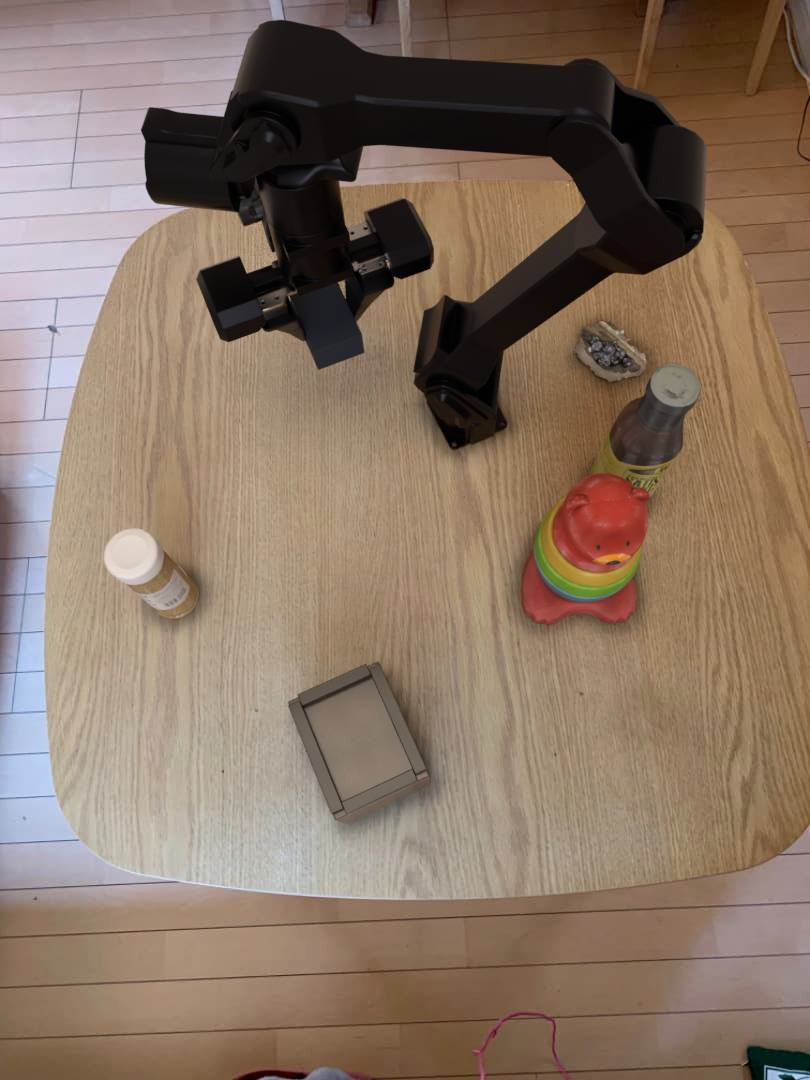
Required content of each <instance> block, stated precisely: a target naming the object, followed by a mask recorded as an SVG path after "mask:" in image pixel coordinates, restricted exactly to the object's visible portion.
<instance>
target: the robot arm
mask: <svg viewBox="0 0 810 1080" xmlns="http://www.w3.org/2000/svg"><path fill="white" fill-rule="evenodd" d="M243 51H244V52H243V54H242V58H241V62H240V64H239V69H238V72H237V76H236V79H235V81H234V85H233V89H232V90H231V91H230V93H229V96H228V101H227V103H226V107H225V112H224V113H223V116H221V115H211V114H201V113H191V112H181V111H180V112H179V111H175V110H173V109H168V108H163V107H154V106H153V107H152V106H149V107H148V108H147V110H146V113H145V116H144V120H143V122H142V124H141V128H140V132H141V135H142V137H143V139H144V153H143V154H144V155H143V156H144V157H143V159H144V173H145V179H146V180H145V190H146V192H147V195H148V196H149V198H150V201H152V202H153V203H154V204H157V205H164V206H172V207H173V206H174V207H181V208H192V209H200V210H210V211H219V212H230V213H236V214H237V216H238V218H239V220H240V223H241V224H242V226H243V227H248V226H251V225H254V224H257V223H260V222H261V224H262V227H263V231H264V234H265V238H266V242H267V244H268V247H269V249H270V251H271V253H275V255H276V259H275V260H273V261H271V263H270V264H269V265H267V266H263V267H260V268H259V269H255V270H251V271H250V272H247V270H246V268H245V265H244V263H243V261H242V258H241V256H240V255H237V256H233V257H231V258H228V259H226V260H223V261H220V262H217V263H214V264H211V265H209V266H205V267H203V268H200V269H199V271H198V273H197V275H196V278H195V280H196V283H197V285H198V287H199V291H200V293H201V295H202V298H203V300H204V304H205V306H206V308H207V311H208V314H209V315H210V318H211V322H212V323H213V326H214V328H215V331H216V333H217V336H218V337H219V340H220V341H224V342H226V343H232V342H234V341H237V340H240V339H243V338H245V337H248V336H251V335H254V334H257V333H259V332H260V331H261V330H262V331H264V332H266V333H271V332H274V331H278V332H281V333H285V334H288V335H290V336H292V337H294V338H296V339H298V340H300V341H301V342H306V341H307V337H306V333H305V331H304V329H303V326H302V324H301V322H300V319H299V317H298V315H297V313H296V311H295V309H294V307H293V305H292V303H291V300H290V296H291V295H294V294H297V295H298V297H299V296H302V295H305V294H308V293H310V292H313V291H316V290H319V289H322V288H324V287H327V286H330V285H333V284H335V283H338V284H339V283H341V282H344V291H345V299H346V301H347V303H348V306H349V308H350V310H351V312H352V314H353V316H354V318H355V320H356V323H357V322H358V321H359V320H360V319H361V318H362V316H363V315H364V314H365V312H366V311H367V310H368V308H370V306H371V305H372V304H373V303H374V302H375V301H376V300H378V298H379V297H380V296H381V295H382V294H383V293H384V292H385V291H387V290H389V289H391V288H393V287H394V285H395V278H396V279H399V280H404V279H407V278H410V277H412V276H416V275H418V274H421V273H424V272H426V271H429V270H431V268H432V267H433V264H434V262H435V247H434V243H433V240H432V238H431V236H430V234H429V232H428V230H427V228H426V226H425V224H424V222H423V220H422V219H421V216H420V214H419V213H418V211H417V209H416V207H415V205H414V203H413V202H412V201H410V200H408V199H407V198H406V197H405V198H401V197H400V198H398V199H395V200H393V201H389V202H387V203H384V204H380V205H377V206H376V207H372V208H369V209H367V210H364V211H363V218H364V221H362V222H359V223H355V224H354V225H350V226H348V227H347V225H346V218H345V212H344V211H345V210H344V205H343V198H342V192H341V191H342V190H341V186H340V185H341V184H340V182H346V183H354V182H355V181H356V180H357V177H358V174H359V168H360V163H361V159H362V155H363V152H364V151H363V150H364V147H373V146H387V147H403V148H414V149H415V148H416V149H432V150H433V149H434V150H445V151H459V152H476V153H488V154H501V155H502V154H503V155H518V156H533V157H545V158H547V157H548V158H551V159H552V160H553V161H554V162H555V163H556V164H557V165H558V166H559V167H560V168H561V169H562V170H563V171H564V172H566V173H567V174H568V175H569V176H570V177H571V179H572V181H573V183H574V184H575V186H576V188H577V190H578V192H579V193H580V195H581V197H582V199H583V200H584V204H583V206H582V208H581V210H580V211H579V212H578V213H577V214H576V215H575V216H574V217H573V218H571V220H569V221H568V222H567V223H566V224H565V225H563V226H562V227H561V228H559V229H558V230H557V231H556V232H555V233H554V234H553V235H551V236H550V237H549V238H548V239H547V240H545V241H544V242H543V243H542V244H541V245H540V246H538V247H537V248H536V249H534V251H533V252H531V253H530V254H529V255H528V256H526V257H525V258H524V259H523V260H522V261H521V262H519V263H518V264H517V265H516V266H515V267H514V268H512V269H511V270H510V271H508V273H506V274H505V275H504V276H502V278H500V279H499V280H498V281H497V282H496V283H494V284H493V285H491V287H489V289H487V290H486V291H485V292H484V293H482V294H481V295H480V296H479V297H477V299H475V300H474V301H471V302H470V301H464V300H457V299H454V298H452V297H450V296H449V295H447V294H444V295H443V294H442V296H441V297H440V299H439V300H438V302H436V303H435V305H432V306H431V307H429V308H426V309H424V310H423V312H422V313H423V314H422V317H421V318H422V319H421V324H420V325H421V326H420V331H419V336H418V342H417V347H416V354H415V358H414V364H413V368H412V372H413V373H414V377H413V378H414V379H413V385H414V386H415V387H416V388H417V389H418V390H419V391H420V393H422V394H423V396H424V398H425V399H426V406H427V408H428V409H429V411H430V413H431V415H432V416H433V419H434V421H435V423H436V425H437V427H438V428H439V430H440V432H441V434H442V436H443V438H444V440H445V442H446V444H447V445H448V448H449V449H450V450H452V451H457V450H459V449H462V448H464V447H466V446H469V445H471V446H473V445H476V444H478V443H480V442H483V441H485V440H487V439H490V438H492V437H494V436H495V434H497V433H499V432H501V431H504V430H506V429H507V427H508V420H507V419H506V417H505V415H504V413H503V412H502V410H501V408H500V406H499V401H498V397H499V389H500V383H501V381H500V380H501V376H502V375H501V374H502V373H501V372H502V367H503V360H504V352H505V351H506V350H507V349H509V348H510V347H512V346H513V345H514V344H516V343H517V342H519V341H521V339H523V338H525V337H526V336H527V335H529V334H530V333H532V332H533V331H534V330H536V329H537V328H538V327H540V326H542V325H543V324H545V322H547V321H548V320H550V319H551V318H553V317H554V316H555V315H557V314H558V313H560V312H561V311H562V310H563V309H565V308H567V307H568V306H569V305H571V304H572V303H573V302H575V301H576V300H578V299H579V298H580V297H582V296H584V295H585V294H587V293H588V292H589V291H591V290H592V289H593V288H595V287H596V286H597V285H599V284H600V283H602V282H603V281H605V280H606V279H607V278H609V277H610V276H612V275H614V274H626V275H638V276H644V275H647V274H649V273H652V272H654V271H656V270H658V269H660V268H663V266H666V265H669V264H670V263H672V262H674V261H676V260H678V259H680V258H682V257H684V256H686V255H688V254H690V253H691V252H692V251H693V250H694V249H695V248H697V246H699V244H700V242H701V241H702V239H703V233H704V230H705V229H704V228H705V227H704V226H705V212H706V211H705V207H706V188H707V187H706V186H707V166H708V165H707V163H708V148H707V146H706V143H705V141H704V139H703V138H702V137H701V136H700V135H699V134H698V133H697V132H695V131H694V130H692V129H689V128H687V127H685V126H682V125H681V124H680V122H678V121H677V119H675V117H674V116H673V115H672V114H671V113H670V112H669V110H668V109H667V108H666V107H665V106H664V105H663V104H662V103H661V102H660V100H658V99H657V97H656V96H655V95H653V94H651V93H649V92H645V91H642V90H639V89H636V88H633V87H630V86H627V85H624V84H623V83H622V82H621V81H620V80H619V79H618V78H617V76H616V75H615V74H614V73H613V72H612V71H611V70H610V68H608V66H606V65H605V64H604V63H602V62H601V61H599V60H596V59H594V58H593V59H592V58H588V57H582V58H575V59H573V60H570V61H568V62H567V63H564V65H560V64H559V65H558V64H542V63H527V62H510V61H509V62H507V61H506V62H505V61H492V60H491V61H489V60H473V59H471V60H470V59H453V58H437V57H419V56H401V55H400V56H399V55H385V54H380V53H376V52H370V51H366V50H365V49H363V48H362V47H361V46H359V45H358V44H356V43H354V42H353V41H351V40H350V39H349V38H348V37H346V36H345V35H344V34H342V33H341V32H339V31H336V30H334V29H331V28H325V27H321V26H316V25H311V24H306V23H301V22H296V21H292V20H287V19H276V20H275V19H274V20H267V21H264V22H262V23H259V25H258V27H257V28H256V29H255V30H254V31H253V33H251V34H250V36H249V37H248V39H247V41H246V45H245V49H244V50H243ZM388 264H389V265H388ZM453 444H455V445H453Z"/></svg>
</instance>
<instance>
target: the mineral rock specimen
mask: <svg viewBox="0 0 810 1080" xmlns="http://www.w3.org/2000/svg"><path fill="white" fill-rule="evenodd" d="M623 334H625V330H624V329H621V330H619V328H618V327H617V326H616V325H615V323H612V322H611V321H610V320H609V321H607V320H605V321H604V320H601V321H598V322H595V323H593V324H590V325H583V326H582V328H581V333H579V334H578V339H579V340H578V341H579V343H575V344H574V346H571V348H572V349H573V350H572V352H573V354H574V353H576V354H577V357H578V359H579V360H580V361H581V362H582V363H583V364H584V365H585V366H589V368H590V369H589V370H590V371H594V374H595V376H596V377H598V378H603V379H604V380H606V381H607V382H608V383H612V382H621V381H622V379H626V380H627V379H628V378H633V377H639V376H641V375H643V374H644V373H645V372H646V371H645V370H647V367H646V366H647V365H648V361H647V359H646V355H645V353H644V352H643V353H642V352H641V350H638V347H637V345H636V346H633V345H630V343H628V341H631V338H627V337H626V336H625V335H623Z"/></svg>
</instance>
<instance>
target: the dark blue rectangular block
mask: <svg viewBox="0 0 810 1080" xmlns="http://www.w3.org/2000/svg"><path fill="white" fill-rule="evenodd" d="M289 299H290V301H291V303H292V305H293V307H294V309H295V311H296V313H297V315H298V317H299V319H300V322H301V324H302V326H303V329H304V331H305V333H306V337H307V341H305V343H306V345H307V347H308V349H309V352H310V354H311V356H312V359H313V361H314V364H315V365H316V368H317V370H318V371H320V370H322V369H325V368H328V367H330V366H333V365H336V364H339V363H341V362H345V361H346V360H349V359H352V358H355V357H358V356H360V355H362V354H364V353H365V347H364V340H363V334H362V331H361V329H360V327H359V324H358V323H357V322H356V320H355V318H354V316H353V314H352V312H351V310H350V308H349V306H348V303H347V301H346V296H345V295H344V293H343V290H342V288H341V286H340V284H339V282H338V283H335V284H333V285H330V286H327V287H324V288H322V289H319V290H316V291H313V292H310V293H308V294H305V295H302V296H299V297H298V295H297V294H294V295H291V296H289Z"/></svg>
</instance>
